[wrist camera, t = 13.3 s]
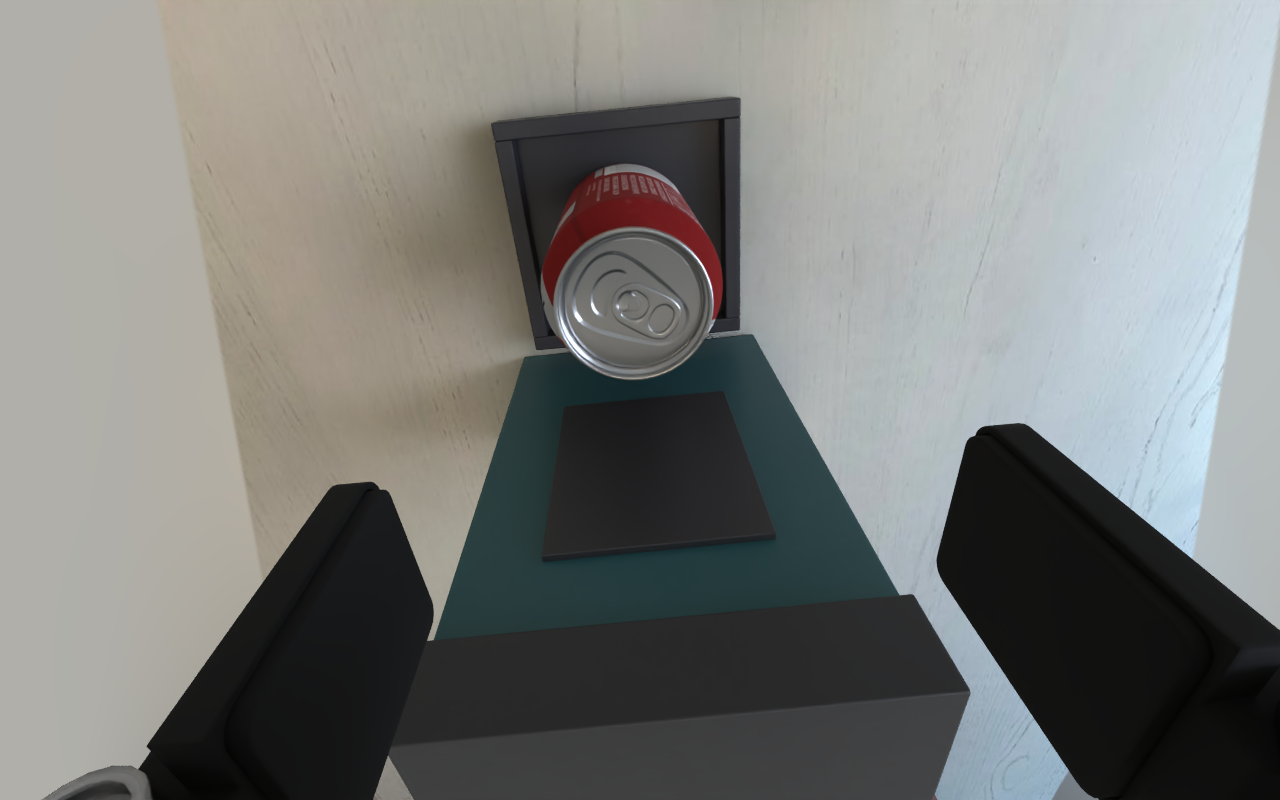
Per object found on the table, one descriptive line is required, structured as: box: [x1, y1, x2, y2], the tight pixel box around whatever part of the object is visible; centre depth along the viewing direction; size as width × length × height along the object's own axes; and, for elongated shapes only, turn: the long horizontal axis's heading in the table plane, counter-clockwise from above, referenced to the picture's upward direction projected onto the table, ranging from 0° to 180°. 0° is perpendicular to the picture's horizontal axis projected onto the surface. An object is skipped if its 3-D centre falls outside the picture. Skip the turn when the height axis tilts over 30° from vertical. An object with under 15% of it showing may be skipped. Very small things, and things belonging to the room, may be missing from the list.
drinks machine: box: [388, 335, 970, 800], centre depth 25 cm, size 7×14×23 cm, turn 95°
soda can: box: [541, 163, 723, 381], centre depth 24 cm, size 7×7×12 cm
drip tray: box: [491, 97, 740, 350], centre depth 29 cm, size 12×12×2 cm
